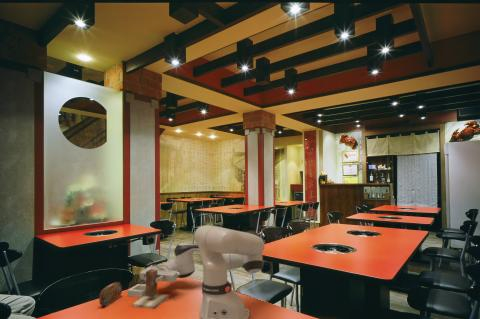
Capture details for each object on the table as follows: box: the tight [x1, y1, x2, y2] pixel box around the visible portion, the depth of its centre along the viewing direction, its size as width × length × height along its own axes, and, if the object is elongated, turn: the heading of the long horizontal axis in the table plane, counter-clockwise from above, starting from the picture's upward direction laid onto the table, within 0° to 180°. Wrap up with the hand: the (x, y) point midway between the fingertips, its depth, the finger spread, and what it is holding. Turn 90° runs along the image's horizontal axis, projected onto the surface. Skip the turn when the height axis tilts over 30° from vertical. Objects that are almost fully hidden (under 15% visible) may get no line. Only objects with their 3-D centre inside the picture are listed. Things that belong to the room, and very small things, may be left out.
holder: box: [127, 283, 146, 298], centre depth 153 cm, size 9×9×3 cm
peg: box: [145, 269, 158, 297], centre depth 143 cm, size 4×4×12 cm
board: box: [131, 293, 170, 310], centre depth 142 cm, size 12×14×1 cm
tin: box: [98, 281, 123, 307], centre depth 143 cm, size 15×3×8 cm, turn 168°
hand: (150, 280), depth 142 cm, fingers closed on peg, 4 cm apart
